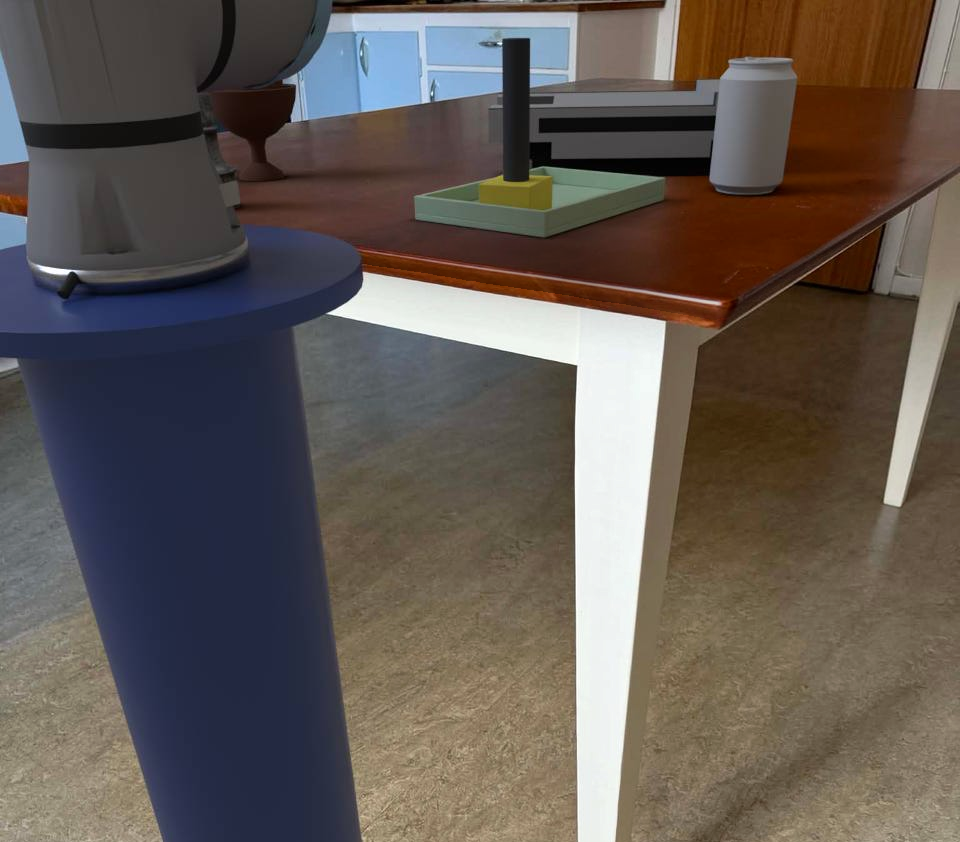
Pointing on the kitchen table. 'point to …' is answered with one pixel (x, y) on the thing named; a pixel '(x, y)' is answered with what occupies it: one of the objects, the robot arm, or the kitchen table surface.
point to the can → (752, 125)
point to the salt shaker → (214, 140)
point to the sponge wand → (517, 137)
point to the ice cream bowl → (255, 121)
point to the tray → (572, 206)
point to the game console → (621, 130)
